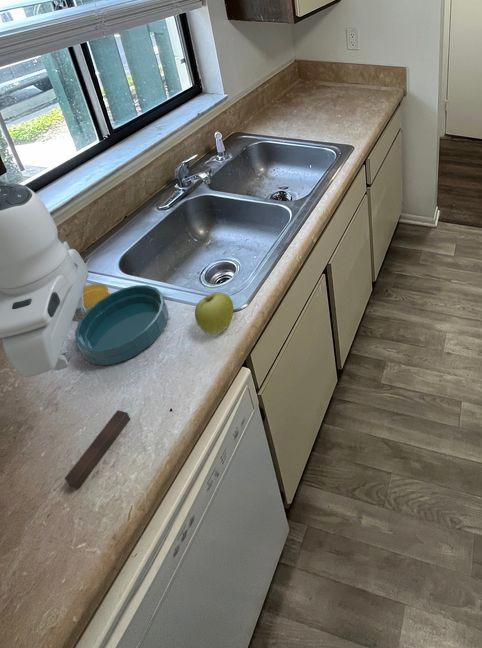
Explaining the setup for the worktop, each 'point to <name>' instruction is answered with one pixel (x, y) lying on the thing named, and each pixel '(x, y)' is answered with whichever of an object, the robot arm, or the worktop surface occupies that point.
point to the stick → (97, 449)
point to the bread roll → (94, 294)
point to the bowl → (121, 324)
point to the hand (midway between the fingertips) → (72, 339)
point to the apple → (214, 312)
